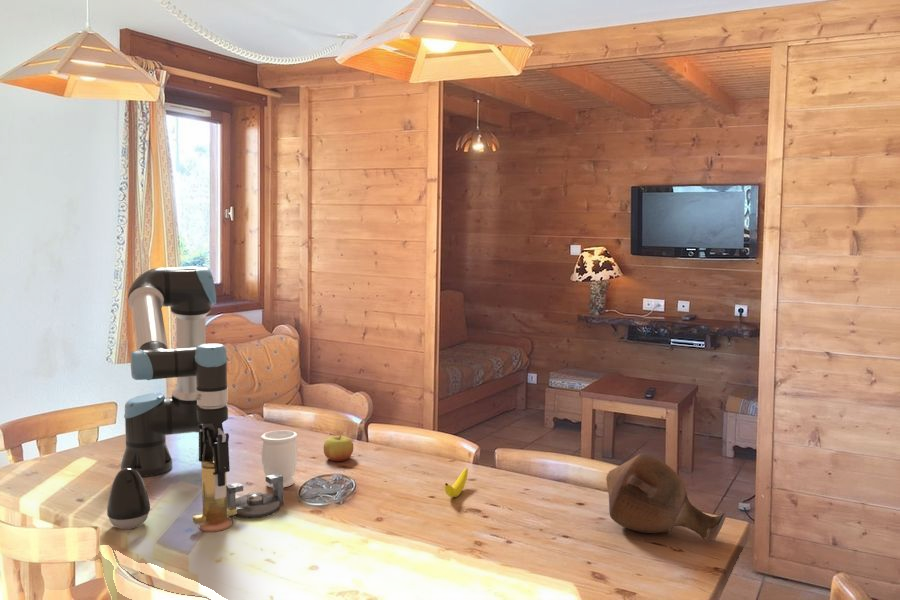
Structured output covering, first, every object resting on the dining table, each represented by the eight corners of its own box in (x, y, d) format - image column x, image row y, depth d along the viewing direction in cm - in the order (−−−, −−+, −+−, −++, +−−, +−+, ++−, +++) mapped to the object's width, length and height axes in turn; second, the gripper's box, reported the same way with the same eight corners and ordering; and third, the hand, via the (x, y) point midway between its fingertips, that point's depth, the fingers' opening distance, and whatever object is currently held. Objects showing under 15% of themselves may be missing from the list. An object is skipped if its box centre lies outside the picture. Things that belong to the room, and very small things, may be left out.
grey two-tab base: (217, 509, 212) (217, 480, 211) (269, 496, 222) (269, 468, 221) (239, 523, 202) (238, 493, 201) (292, 509, 212) (291, 480, 211)
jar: (289, 491, 226) (288, 440, 225) (256, 488, 228) (255, 438, 227) (303, 479, 237) (302, 430, 235) (271, 476, 239) (270, 428, 237)
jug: (587, 528, 200) (703, 578, 185) (595, 463, 193) (716, 509, 178) (619, 491, 216) (728, 533, 200) (627, 429, 209) (741, 468, 193)
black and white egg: (109, 536, 194) (106, 477, 192) (106, 522, 203) (103, 465, 201) (153, 529, 198) (151, 471, 197) (148, 515, 207) (146, 459, 206)
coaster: (194, 524, 201) (194, 521, 201) (223, 517, 206) (223, 513, 206) (206, 534, 195) (206, 530, 195) (236, 526, 200) (236, 522, 200)
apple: (359, 458, 257) (359, 434, 257) (340, 466, 249) (340, 441, 248) (336, 453, 263) (336, 429, 262) (317, 460, 255) (316, 436, 254)
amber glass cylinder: (189, 519, 199) (188, 462, 198) (230, 509, 206) (229, 454, 205) (199, 526, 195) (197, 468, 193) (240, 516, 202) (239, 459, 200)
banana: (471, 484, 233) (471, 463, 232) (451, 506, 215) (451, 484, 215) (462, 483, 234) (462, 462, 233) (441, 505, 216) (441, 483, 215)
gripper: (183, 400, 202) (185, 487, 205) (213, 415, 188) (216, 508, 190) (211, 396, 207) (213, 481, 209) (242, 410, 193) (244, 500, 195)
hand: (214, 493), depth 200 cm, fingers closed on amber glass cylinder, 6 cm apart
